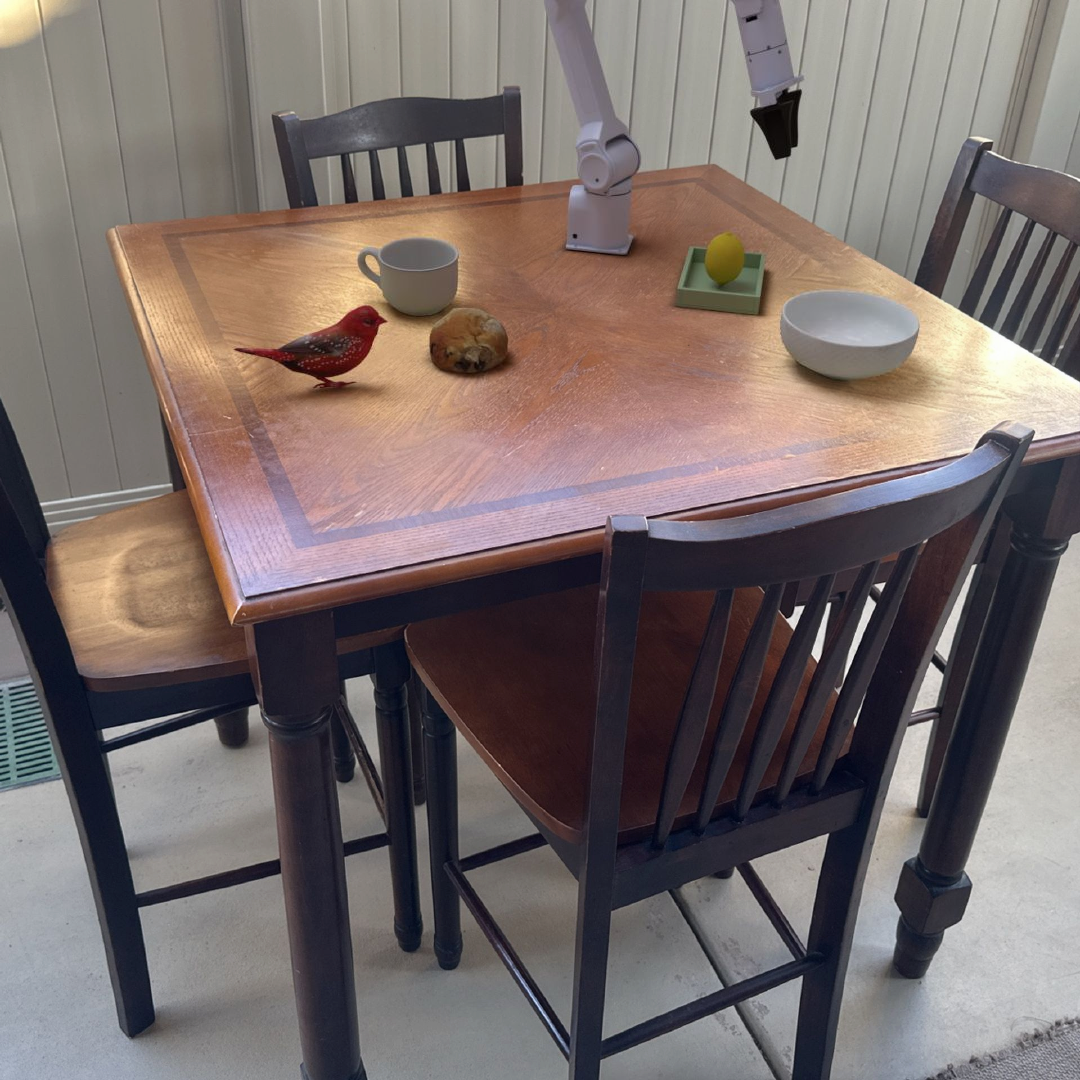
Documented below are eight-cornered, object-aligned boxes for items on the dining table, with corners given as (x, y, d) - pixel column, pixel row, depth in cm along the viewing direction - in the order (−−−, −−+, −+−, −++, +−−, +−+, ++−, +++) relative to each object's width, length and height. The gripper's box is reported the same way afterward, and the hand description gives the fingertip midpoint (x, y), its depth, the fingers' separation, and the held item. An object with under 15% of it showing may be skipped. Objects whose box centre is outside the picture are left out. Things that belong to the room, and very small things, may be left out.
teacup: (473, 301, 157) (472, 245, 152) (434, 329, 149) (433, 271, 144) (387, 282, 161) (384, 228, 157) (345, 309, 153) (340, 252, 149)
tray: (675, 306, 157) (677, 288, 156) (688, 262, 171) (689, 245, 170) (757, 315, 156) (760, 297, 154) (763, 270, 170) (766, 253, 168)
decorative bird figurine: (393, 387, 135) (389, 308, 129) (241, 403, 130) (230, 322, 125) (388, 376, 137) (384, 299, 131) (239, 392, 133) (228, 312, 127)
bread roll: (513, 379, 145) (523, 317, 144) (487, 378, 135) (498, 311, 134) (442, 366, 148) (452, 305, 146) (411, 364, 138) (421, 298, 137)
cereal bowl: (765, 336, 150) (773, 285, 146) (891, 341, 150) (902, 291, 146) (784, 395, 136) (793, 341, 132) (922, 400, 136) (936, 346, 132)
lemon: (742, 294, 161) (750, 239, 156) (703, 292, 161) (710, 237, 156) (738, 279, 165) (745, 225, 161) (700, 278, 165) (706, 224, 161)
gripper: (789, 45, 142) (810, 154, 147) (802, 35, 154) (821, 136, 159) (734, 61, 145) (757, 168, 150) (751, 50, 157) (772, 149, 162)
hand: (786, 153), depth 155 cm, fingers open, 7 cm apart
